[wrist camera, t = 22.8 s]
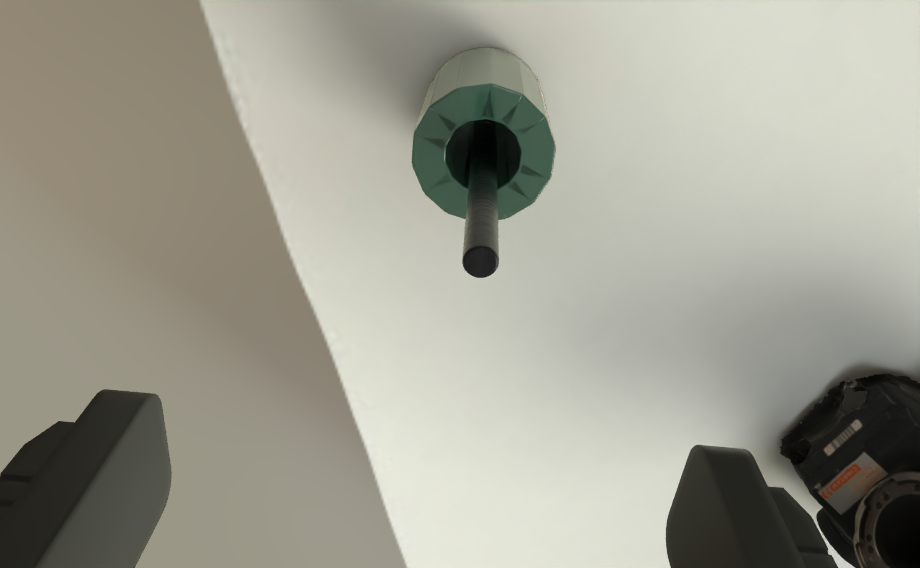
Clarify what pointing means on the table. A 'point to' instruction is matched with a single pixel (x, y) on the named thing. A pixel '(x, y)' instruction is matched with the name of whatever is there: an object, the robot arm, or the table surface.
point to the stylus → (482, 203)
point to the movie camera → (865, 471)
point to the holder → (451, 127)
